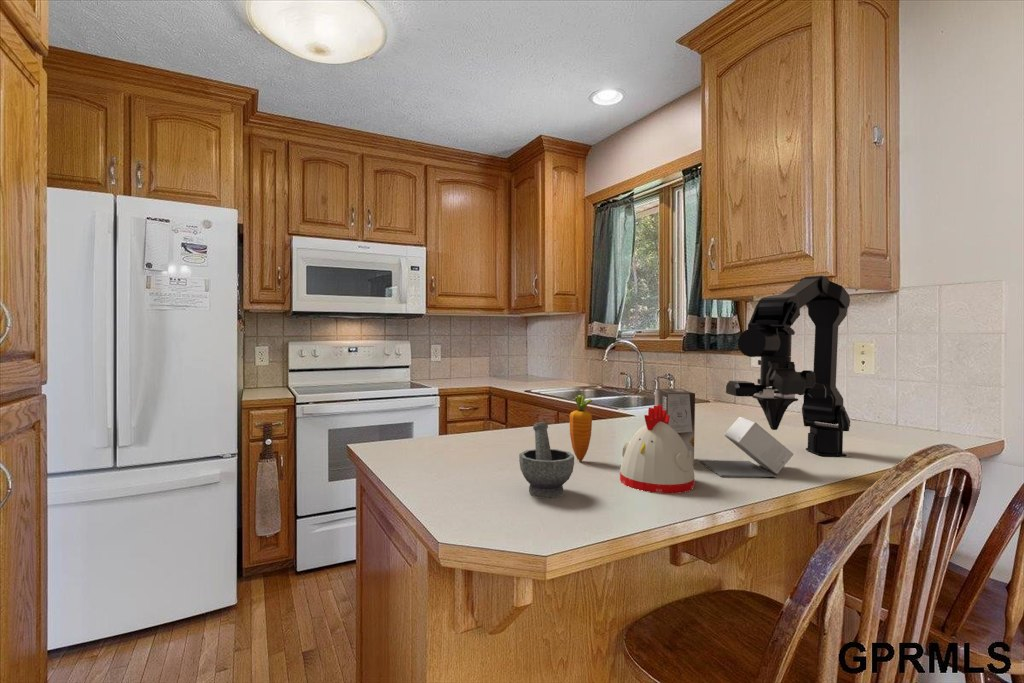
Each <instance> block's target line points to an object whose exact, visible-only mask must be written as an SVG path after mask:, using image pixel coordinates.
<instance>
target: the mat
mask: <svg viewBox="0 0 1024 683" xmlns="http://www.w3.org/2000/svg"><path fill="white" fill-rule="evenodd" d="M699 462H700V464H702V463H703V464H704V466H705V465H706V466H707V467H706V466H705V467H706V468H708V469H709V468H710V469H711V470H710V469H709V470H710V471H712V472H713V471H714V472H715V473H714V472H713V473H714V474H716V473H717V474H718V475H717V474H716V475H717V476H718V477H720V476H721V477H720V478H750V477H777V476H776V474H773V473H771V471H770V472H769V471H768V470H766V469H765V468H764V467H761V466H760V465H758V464H756V463H753V462H752V461H751V460H718V459H717V460H714V459H713V460H712V459H711V460H710V459H706V460H704V459H700V460H699ZM703 464H702V465H703Z"/></svg>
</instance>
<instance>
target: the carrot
mask: <svg viewBox="0 0 1024 683" xmlns="http://www.w3.org/2000/svg"><path fill="white" fill-rule="evenodd" d="M585 400H586V396H585V395H581V394H579V395H577V396H576V397H575V398H574V401H575V403H576V406H577V409H576V410H573V411H571V412H570V413H569V435H570V436H569V437H570V442H571V446H572V447H571V448H572V450H573V453H574V455H575V457H576V460H577V461H578V462H580V461H581V462H582V461H583V460H584V459H585V457H586V455H587V452H588V450H589V446H590V442H591V437H592V425H593V415H592V413H591V412H590V411H588V410H585V409H586V407H587V406H588V405H589V404H590V403H591V402H593V400H592V399H591V398H590V399H588V400H586V401H585Z"/></svg>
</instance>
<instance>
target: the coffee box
mask: <svg viewBox="0 0 1024 683" xmlns="http://www.w3.org/2000/svg"><path fill="white" fill-rule="evenodd" d="M658 405H662V407H663V410H666V415H670V418H669V423H668V425H669V426H670V427H672V428H673V429H674V430H675V431H676V432H677V433H678V434H679V436H680V437H681V438H682V440H683V441H684V443H685V445H686V447H687V449H688V451H692V457H693V467H694V466H695V428H696V427H695V425H696V424H695V421H696V417H695V416H696V393H695V392H691V391H688V390H685V389H682V388H655V389H654V406H658Z"/></svg>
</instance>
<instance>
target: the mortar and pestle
mask: <svg viewBox="0 0 1024 683" xmlns="http://www.w3.org/2000/svg"><path fill="white" fill-rule="evenodd" d="M532 428H533V431H534V443H535V444H534V445H535V448H534V449H526V450H524V451H522V452H519V454H518V455H519V456H518V458H519V460H518V461H519V468H520V471H521V473H522V475H523V478H524V479H525V480H526V482H528V484H529V487H528V492H529V493H528V494H530V496H532V497H535V498H537V499H556V498H560V497H561V496H563V495H565V494H564V484H565V483H566V482H567V481H568V480H570V478H571V476H572V474H573V472H574V466H575V456H574V455H575V454H572V453H571V452H570V451H565V450H562V449H556V448H554V449H553V448H551V445H550V440H549V435H548V434H549V433H548V428H549V425H548V424H547V423H546V422H543V421H541V422H537V423H534V424H533V426H532Z"/></svg>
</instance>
